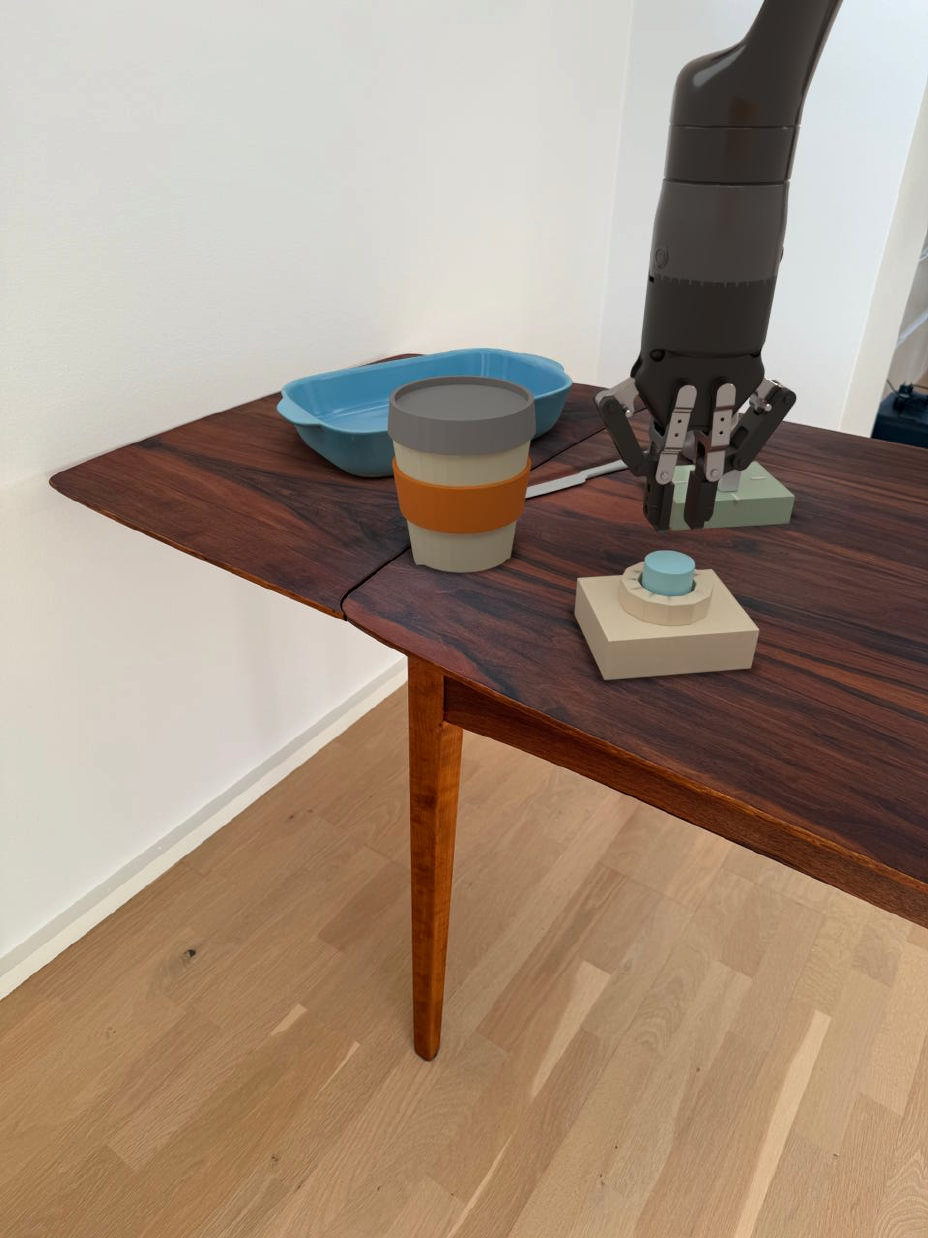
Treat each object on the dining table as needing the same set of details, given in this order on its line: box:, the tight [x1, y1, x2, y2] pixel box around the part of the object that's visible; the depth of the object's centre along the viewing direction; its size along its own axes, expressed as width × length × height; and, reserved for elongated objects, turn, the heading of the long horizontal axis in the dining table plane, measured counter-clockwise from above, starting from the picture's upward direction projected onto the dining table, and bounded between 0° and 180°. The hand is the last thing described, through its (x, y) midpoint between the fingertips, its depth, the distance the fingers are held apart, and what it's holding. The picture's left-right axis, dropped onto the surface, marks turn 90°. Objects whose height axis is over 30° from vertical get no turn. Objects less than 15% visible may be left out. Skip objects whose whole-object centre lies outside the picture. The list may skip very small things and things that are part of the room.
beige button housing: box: [574, 561, 760, 681], centre depth 64 cm, size 11×9×6 cm
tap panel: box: [643, 461, 796, 532], centre depth 86 cm, size 12×10×3 cm
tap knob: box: [717, 470, 742, 492], centre depth 84 cm, size 6×2×5 cm, turn 7°
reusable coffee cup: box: [388, 375, 536, 573], centre depth 74 cm, size 13×13×15 cm
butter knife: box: [525, 450, 647, 499], centre depth 93 cm, size 1×24×3 cm
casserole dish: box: [276, 347, 574, 478], centre depth 102 cm, size 37×22×7 cm, turn 123°
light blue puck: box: [642, 549, 696, 597], centre depth 62 cm, size 4×4×2 cm
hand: (675, 525), depth 60 cm, fingers closed
